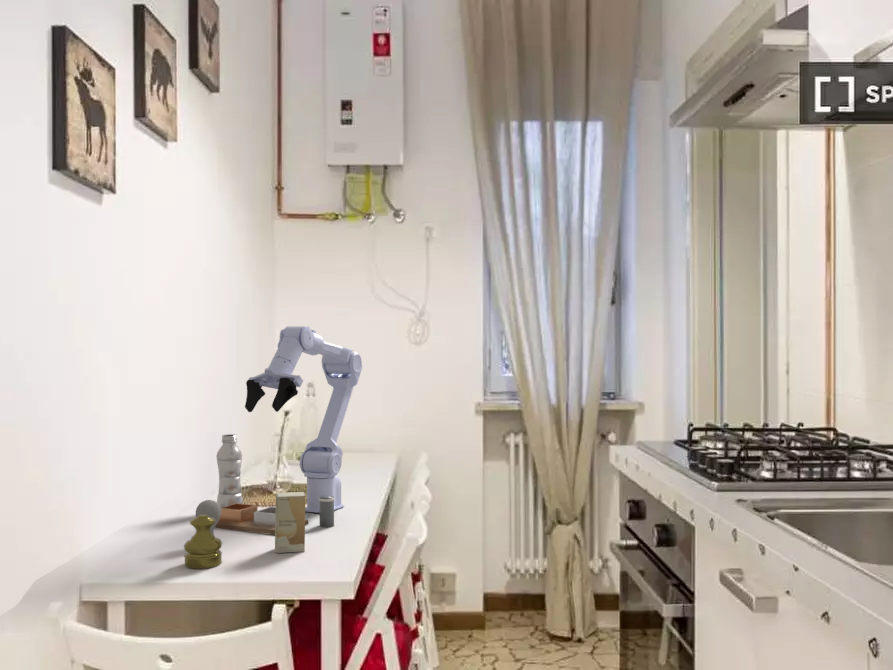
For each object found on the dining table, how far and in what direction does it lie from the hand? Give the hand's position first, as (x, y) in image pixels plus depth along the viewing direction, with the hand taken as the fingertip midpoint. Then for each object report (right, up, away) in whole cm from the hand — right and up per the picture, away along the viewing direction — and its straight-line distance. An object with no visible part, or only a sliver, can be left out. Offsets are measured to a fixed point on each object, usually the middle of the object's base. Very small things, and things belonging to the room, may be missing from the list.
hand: (261, 409), depth 192 cm
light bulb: (-10, -30, -9) cm, 32 cm away
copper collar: (-8, -29, +12) cm, 32 cm away
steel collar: (+1, -28, +7) cm, 29 cm away
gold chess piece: (-7, -30, -24) cm, 39 cm away
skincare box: (+9, -29, -13) cm, 34 cm away
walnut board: (-3, -29, +10) cm, 31 cm away
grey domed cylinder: (+14, -29, +9) cm, 33 cm away
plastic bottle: (-14, -29, +25) cm, 41 cm away
